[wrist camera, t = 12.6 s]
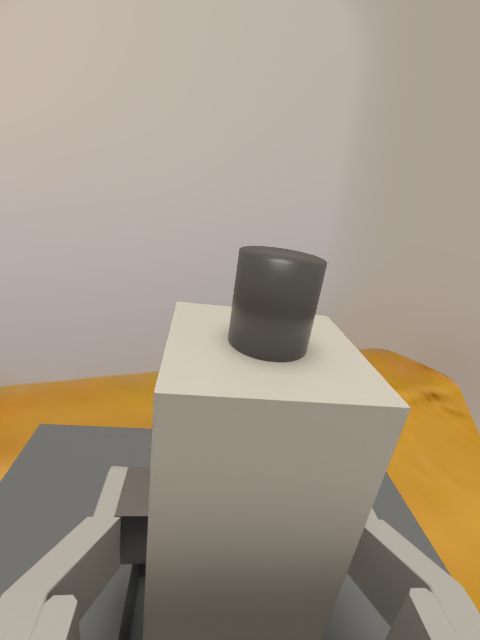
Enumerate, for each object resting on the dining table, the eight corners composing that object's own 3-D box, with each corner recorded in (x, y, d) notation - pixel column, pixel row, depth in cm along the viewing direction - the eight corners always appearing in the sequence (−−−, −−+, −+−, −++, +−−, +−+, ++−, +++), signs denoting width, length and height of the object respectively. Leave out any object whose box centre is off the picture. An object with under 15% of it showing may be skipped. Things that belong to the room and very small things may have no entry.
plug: (137, 742, 10) (159, 269, 4) (158, 576, 14) (182, 228, 9) (285, 731, 10) (452, 300, 5) (263, 575, 14) (343, 248, 9)
